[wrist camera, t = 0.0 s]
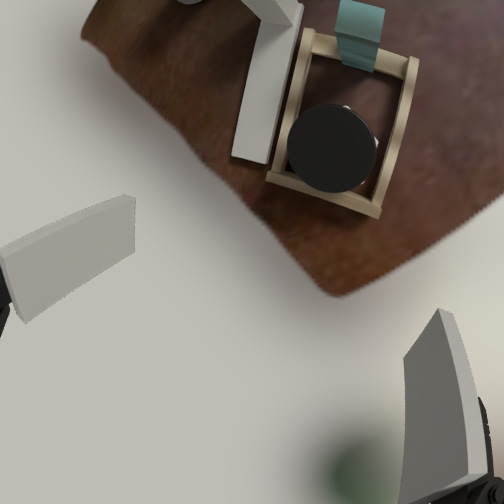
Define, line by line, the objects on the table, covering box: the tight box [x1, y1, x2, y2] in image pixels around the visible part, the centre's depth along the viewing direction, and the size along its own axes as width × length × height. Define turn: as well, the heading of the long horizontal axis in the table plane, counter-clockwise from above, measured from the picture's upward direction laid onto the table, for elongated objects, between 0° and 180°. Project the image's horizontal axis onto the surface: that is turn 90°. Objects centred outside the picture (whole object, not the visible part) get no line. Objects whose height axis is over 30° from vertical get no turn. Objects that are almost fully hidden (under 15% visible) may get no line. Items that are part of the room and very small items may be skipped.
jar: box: [287, 104, 378, 193], centre depth 27 cm, size 9×8×12 cm
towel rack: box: [265, 0, 419, 219], centre depth 25 cm, size 22×14×12 cm
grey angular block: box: [231, 0, 304, 164], centre depth 26 cm, size 24×5×11 cm, turn 168°
